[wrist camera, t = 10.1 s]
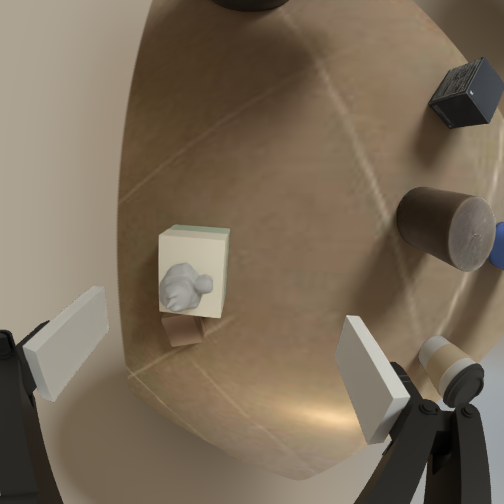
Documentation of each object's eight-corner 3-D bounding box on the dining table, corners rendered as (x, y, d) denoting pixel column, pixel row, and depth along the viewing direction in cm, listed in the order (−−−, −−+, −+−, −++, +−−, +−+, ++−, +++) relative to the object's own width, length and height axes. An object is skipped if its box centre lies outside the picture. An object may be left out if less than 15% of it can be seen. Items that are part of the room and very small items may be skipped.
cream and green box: (175, 224, 41) (158, 235, 34) (230, 228, 42) (225, 240, 34) (174, 288, 44) (159, 311, 36) (225, 294, 44) (220, 318, 36)
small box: (451, 131, 37) (490, 126, 27) (426, 103, 36) (464, 91, 26) (471, 95, 35) (507, 86, 25) (448, 69, 34) (483, 54, 24)
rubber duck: (159, 263, 34) (136, 286, 27) (211, 253, 34) (200, 275, 26) (171, 303, 36) (152, 335, 28) (221, 295, 36) (213, 327, 28)
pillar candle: (386, 206, 41) (443, 224, 26) (429, 176, 39) (492, 183, 25) (410, 257, 43) (464, 291, 28) (449, 226, 42) (508, 248, 27)
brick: (167, 307, 45) (160, 318, 41) (196, 301, 45) (191, 312, 41) (177, 334, 46) (172, 346, 42) (205, 329, 46) (202, 341, 42)
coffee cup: (407, 370, 49) (441, 417, 34) (422, 331, 46) (464, 375, 32) (440, 366, 49) (475, 408, 34) (454, 329, 47) (496, 367, 32)
